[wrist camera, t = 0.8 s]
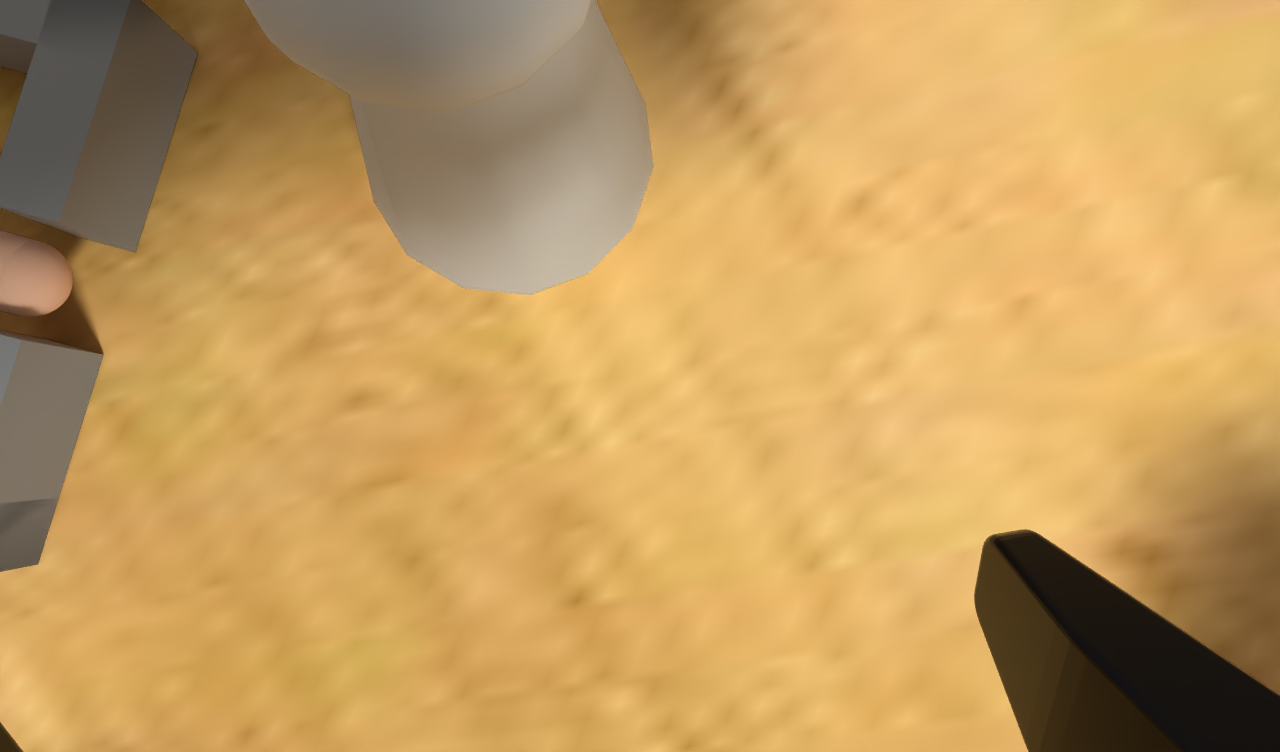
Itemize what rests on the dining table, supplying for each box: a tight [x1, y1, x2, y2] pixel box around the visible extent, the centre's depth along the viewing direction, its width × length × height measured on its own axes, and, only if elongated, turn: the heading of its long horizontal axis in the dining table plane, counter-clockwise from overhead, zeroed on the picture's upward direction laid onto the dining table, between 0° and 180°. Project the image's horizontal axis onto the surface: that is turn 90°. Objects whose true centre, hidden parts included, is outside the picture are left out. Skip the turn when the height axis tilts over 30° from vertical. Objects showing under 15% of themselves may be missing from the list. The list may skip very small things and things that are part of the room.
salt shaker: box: [244, 0, 653, 295], centre depth 16 cm, size 6×6×13 cm
